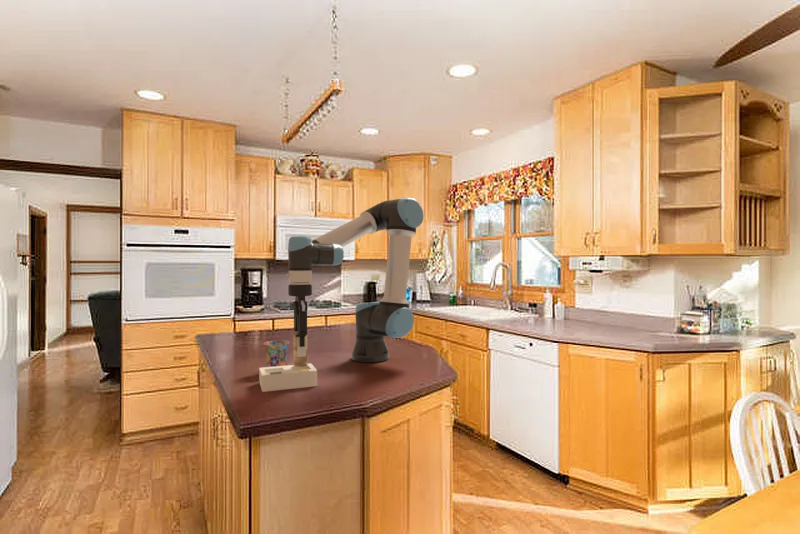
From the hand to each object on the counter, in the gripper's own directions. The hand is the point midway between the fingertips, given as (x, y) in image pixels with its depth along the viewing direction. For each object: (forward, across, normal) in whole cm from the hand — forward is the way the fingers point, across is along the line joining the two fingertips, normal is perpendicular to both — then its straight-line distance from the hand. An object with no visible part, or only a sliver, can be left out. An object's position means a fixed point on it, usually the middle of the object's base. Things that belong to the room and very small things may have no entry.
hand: (300, 354), depth 150 cm
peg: (+3, 0, 0) cm, 3 cm away
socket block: (+9, 0, -4) cm, 10 cm away
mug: (+10, -20, -6) cm, 23 cm away
